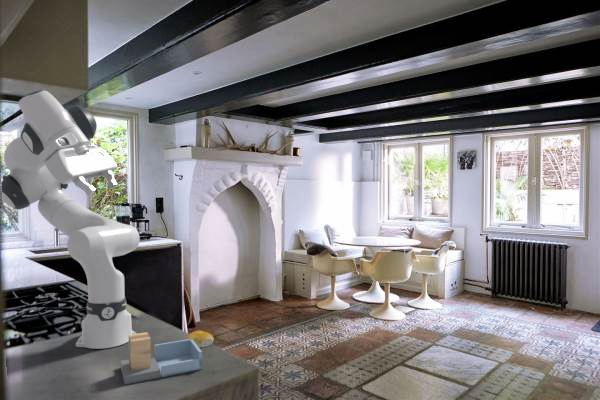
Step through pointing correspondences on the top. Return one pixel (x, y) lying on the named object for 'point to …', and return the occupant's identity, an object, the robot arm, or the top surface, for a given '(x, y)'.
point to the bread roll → (201, 338)
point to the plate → (139, 372)
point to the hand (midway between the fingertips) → (103, 190)
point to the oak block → (139, 351)
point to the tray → (178, 357)
